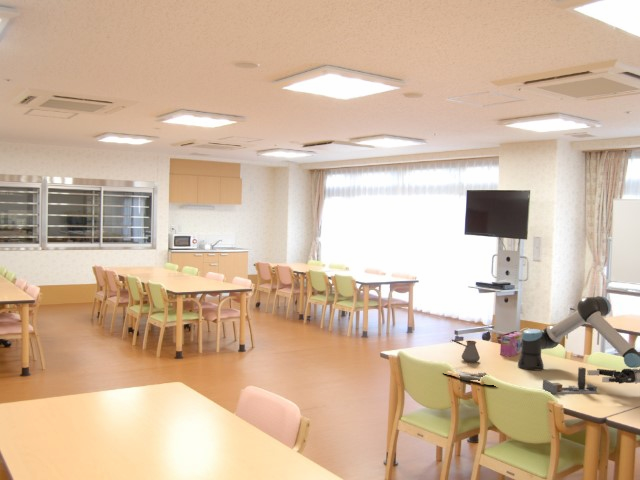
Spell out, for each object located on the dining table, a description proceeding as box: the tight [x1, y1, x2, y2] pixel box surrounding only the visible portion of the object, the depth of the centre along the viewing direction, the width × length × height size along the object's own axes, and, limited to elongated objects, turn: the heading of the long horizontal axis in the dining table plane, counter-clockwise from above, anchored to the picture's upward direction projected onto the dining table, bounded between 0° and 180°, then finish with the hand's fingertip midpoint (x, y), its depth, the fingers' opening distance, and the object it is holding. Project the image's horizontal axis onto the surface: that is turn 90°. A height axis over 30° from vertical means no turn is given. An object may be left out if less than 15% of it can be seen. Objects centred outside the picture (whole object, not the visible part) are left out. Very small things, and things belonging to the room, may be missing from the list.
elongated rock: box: [454, 369, 488, 382], centre depth 338 cm, size 35×5×10 cm
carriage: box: [568, 366, 589, 391], centre depth 318 cm, size 9×5×12 cm, turn 98°
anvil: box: [542, 379, 557, 395], centre depth 315 cm, size 2×11×4 cm, turn 8°
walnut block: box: [552, 382, 563, 392], centre depth 316 cm, size 4×4×4 cm
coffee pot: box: [449, 339, 481, 364], centre depth 380 cm, size 21×12×15 cm, turn 112°
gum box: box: [499, 330, 523, 358], centre depth 410 cm, size 24×8×14 cm, turn 138°
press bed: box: [552, 383, 599, 395], centre depth 317 cm, size 26×11×4 cm, turn 98°
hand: (595, 376), depth 319 cm, fingers open, 13 cm apart
